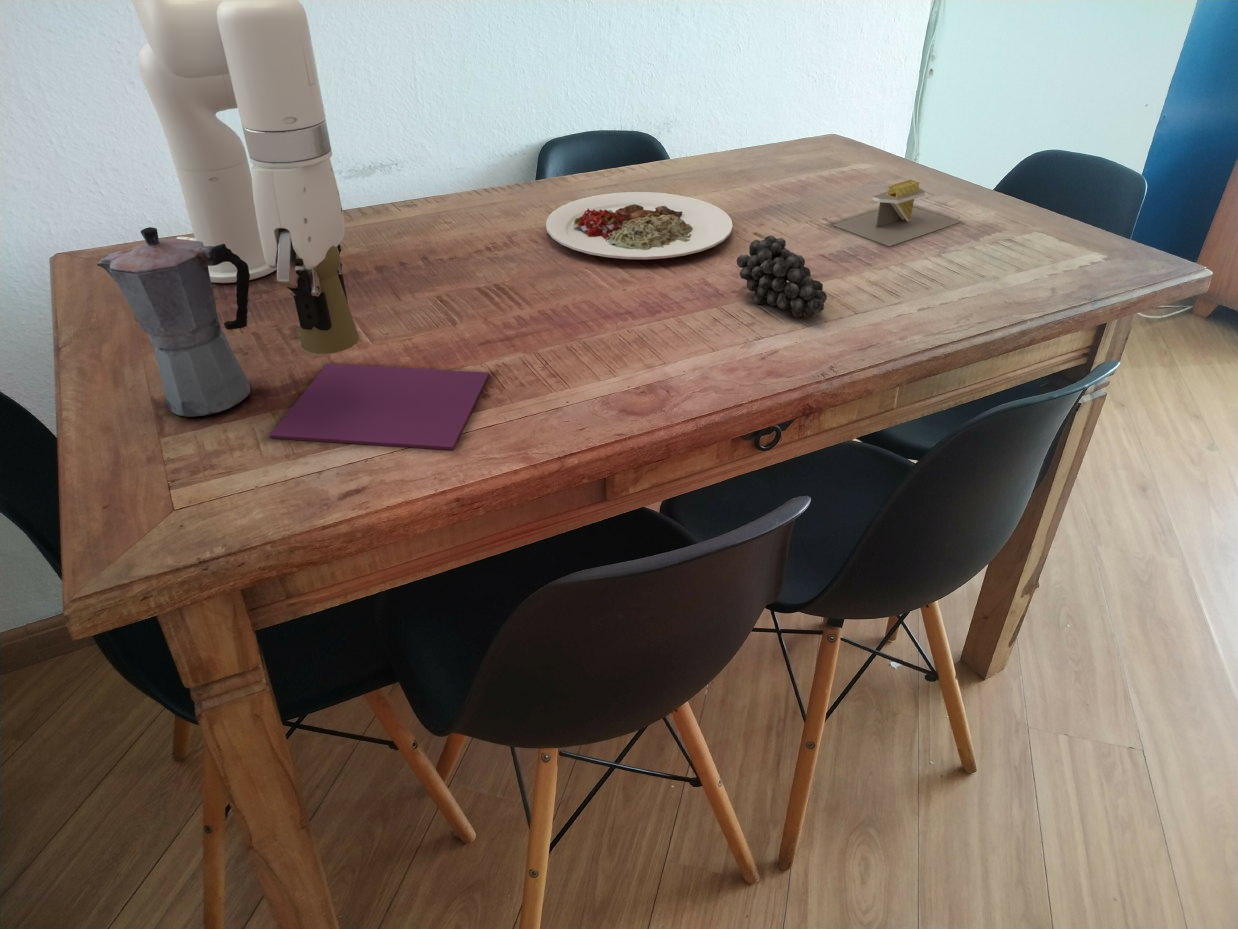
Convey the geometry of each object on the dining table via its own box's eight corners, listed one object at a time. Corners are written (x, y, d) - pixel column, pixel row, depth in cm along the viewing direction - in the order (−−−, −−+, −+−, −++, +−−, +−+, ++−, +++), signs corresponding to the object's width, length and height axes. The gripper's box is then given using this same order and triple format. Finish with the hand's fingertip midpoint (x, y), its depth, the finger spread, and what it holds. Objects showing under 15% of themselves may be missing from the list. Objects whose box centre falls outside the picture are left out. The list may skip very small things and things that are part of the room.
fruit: (842, 258, 111) (770, 219, 122) (789, 290, 110) (721, 248, 120) (849, 313, 117) (779, 271, 128) (799, 344, 116) (733, 299, 126)
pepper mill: (343, 356, 93) (323, 256, 87) (290, 350, 94) (267, 251, 88) (368, 330, 98) (350, 234, 92) (317, 326, 99) (297, 230, 93)
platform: (959, 222, 148) (968, 182, 144) (889, 246, 139) (896, 204, 135) (901, 203, 156) (908, 165, 152) (831, 224, 147) (837, 185, 143)
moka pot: (158, 380, 105) (102, 214, 93) (292, 374, 106) (252, 209, 94) (129, 423, 97) (63, 247, 86) (273, 416, 98) (227, 242, 87)
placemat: (270, 438, 94) (269, 435, 94) (327, 366, 108) (327, 363, 107) (453, 450, 93) (452, 446, 92) (489, 375, 106) (489, 372, 105)
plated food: (759, 258, 135) (761, 236, 133) (566, 277, 129) (565, 255, 127) (697, 196, 159) (698, 177, 157) (532, 210, 153) (531, 191, 151)
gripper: (287, 118, 91) (322, 285, 102) (207, 166, 78) (256, 353, 88) (358, 120, 91) (385, 288, 101) (289, 169, 77) (329, 357, 87)
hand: (325, 317), depth 94 cm, fingers closed on pepper mill, 4 cm apart
